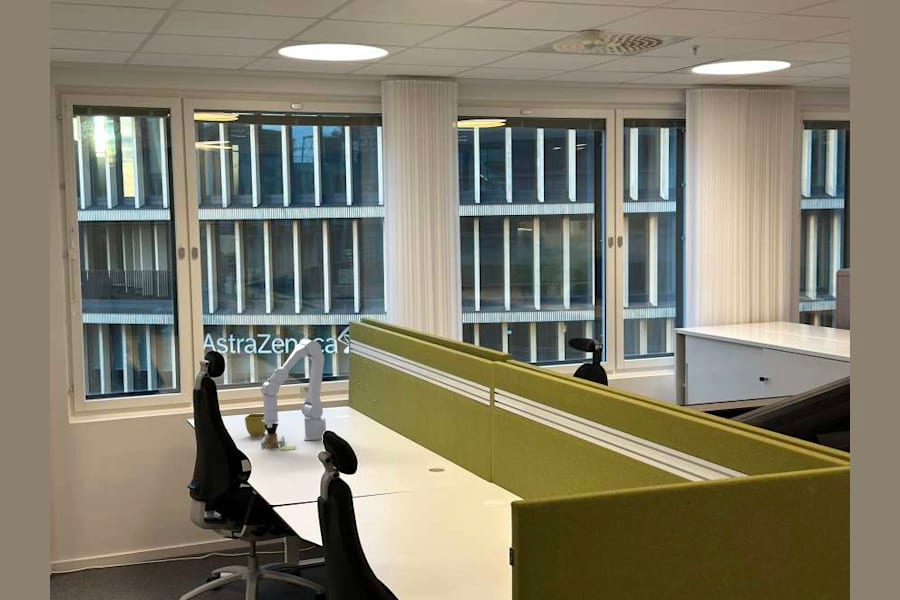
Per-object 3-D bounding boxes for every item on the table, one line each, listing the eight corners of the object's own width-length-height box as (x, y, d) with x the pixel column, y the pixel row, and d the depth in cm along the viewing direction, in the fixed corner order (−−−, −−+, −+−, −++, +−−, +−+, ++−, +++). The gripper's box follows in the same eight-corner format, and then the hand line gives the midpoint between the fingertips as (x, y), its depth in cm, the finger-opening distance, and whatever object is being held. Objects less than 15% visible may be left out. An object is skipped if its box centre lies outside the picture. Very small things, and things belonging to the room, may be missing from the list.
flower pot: (269, 432, 424) (268, 413, 424) (264, 437, 416) (263, 417, 415) (251, 432, 425) (250, 413, 424) (245, 437, 417) (244, 417, 416)
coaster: (295, 446, 395) (295, 445, 395) (294, 449, 389) (294, 448, 389) (281, 447, 394) (281, 446, 394) (280, 450, 388) (280, 449, 388)
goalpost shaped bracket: (284, 441, 405) (284, 436, 405) (282, 446, 395) (282, 441, 395) (263, 442, 404) (263, 437, 404) (261, 448, 394) (261, 442, 394)
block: (277, 444, 399) (276, 433, 398) (277, 447, 394) (276, 436, 393) (267, 445, 398) (266, 434, 397) (266, 448, 394) (265, 437, 393)
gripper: (263, 406, 404) (264, 437, 405) (259, 413, 390) (260, 445, 391) (279, 406, 405) (280, 436, 406) (276, 412, 390) (277, 444, 391)
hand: (272, 440), depth 398 cm, fingers closed, pressing on block
